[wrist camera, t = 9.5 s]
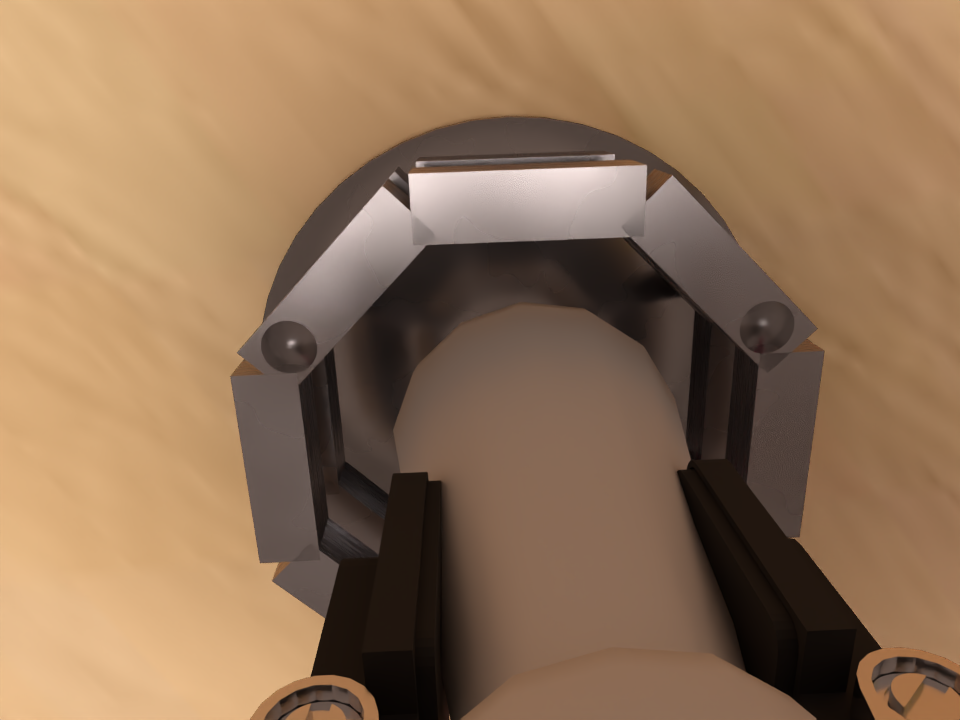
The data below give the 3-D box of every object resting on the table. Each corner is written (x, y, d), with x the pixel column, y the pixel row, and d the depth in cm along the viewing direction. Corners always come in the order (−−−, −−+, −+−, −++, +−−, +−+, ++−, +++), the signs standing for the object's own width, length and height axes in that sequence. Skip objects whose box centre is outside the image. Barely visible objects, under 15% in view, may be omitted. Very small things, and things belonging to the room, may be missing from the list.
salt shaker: (688, 432, 18) (1211, 1170, 5) (487, 542, 19) (548, 1395, 6) (568, 227, 16) (942, 635, 4) (354, 360, 17) (79, 1047, 5)
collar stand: (778, 106, 17) (901, 109, 12) (733, 567, 21) (811, 697, 16) (230, 125, 16) (145, 135, 12) (295, 588, 20) (251, 726, 16)
